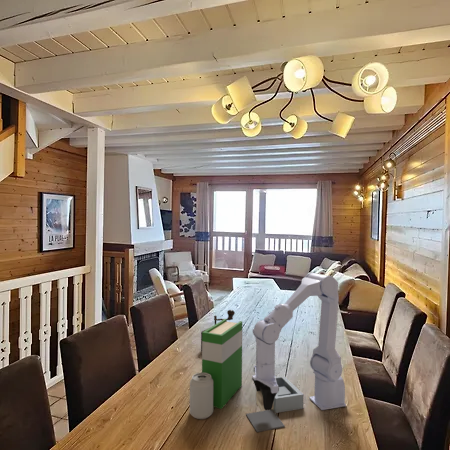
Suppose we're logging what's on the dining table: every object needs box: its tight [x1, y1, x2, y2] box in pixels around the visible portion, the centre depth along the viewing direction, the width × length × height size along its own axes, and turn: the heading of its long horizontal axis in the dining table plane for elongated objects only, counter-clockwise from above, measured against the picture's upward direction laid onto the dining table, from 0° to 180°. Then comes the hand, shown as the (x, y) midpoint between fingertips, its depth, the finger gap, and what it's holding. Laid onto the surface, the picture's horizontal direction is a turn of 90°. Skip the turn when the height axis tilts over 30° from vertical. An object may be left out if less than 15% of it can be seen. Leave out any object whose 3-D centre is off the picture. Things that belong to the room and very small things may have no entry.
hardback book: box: [201, 318, 243, 410], centre depth 117 cm, size 18×7×24 cm, turn 155°
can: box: [189, 372, 214, 420], centre depth 105 cm, size 8×8×12 cm
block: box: [255, 390, 274, 411], centre depth 101 cm, size 4×4×4 cm
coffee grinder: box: [200, 309, 235, 352], centre depth 161 cm, size 16×11×18 cm
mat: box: [245, 409, 286, 433], centre depth 101 cm, size 9×9×1 cm
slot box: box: [272, 375, 305, 414], centre depth 114 cm, size 10×14×5 cm
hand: (264, 405), depth 101 cm, fingers closed on block, 4 cm apart
